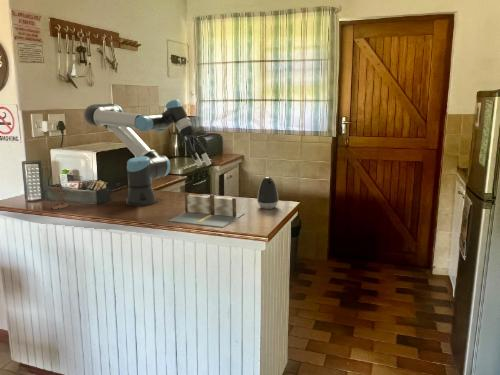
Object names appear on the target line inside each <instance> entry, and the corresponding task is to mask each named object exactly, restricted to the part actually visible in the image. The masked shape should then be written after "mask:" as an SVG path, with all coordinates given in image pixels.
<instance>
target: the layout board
mask: <svg viewBox="0 0 500 375" xmlns="http://www.w3.org/2000/svg"><path fill="white" fill-rule="evenodd" d="M242 216H245V213H243V212H236V216H227V215H217V214H215V215H211V214H209V215H204V214H194V213H187V212H183V213H181V214H179V215H177V216H174V217H172V218H171V219H168V220H167V222H170V223H179V224H189V225H196V226H204V227H214V228H222V229H223V228H225V227H226V226H228V225H230V224H231V223H233V222H235V221H236V220H237V219H240V218H241V217H242Z"/></svg>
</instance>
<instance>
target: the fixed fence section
mask: <svg viewBox="0 0 500 375" xmlns="http://www.w3.org/2000/svg"><path fill="white" fill-rule="evenodd" d="M214 198H215V194H214V193H213V194H209V196H203V195H193V194H192V195H191V194H190V193H189V192H184V207H185V208H184V209H185V212H187V213H194V214H204V215H209V214H211V215H215V207H214ZM185 212H184V213H185Z"/></svg>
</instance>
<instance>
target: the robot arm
mask: <svg viewBox="0 0 500 375" xmlns="http://www.w3.org/2000/svg"><path fill="white" fill-rule="evenodd" d="M165 108H166V110H165V111H164V112H162V113H160V114H140V113H130V112H125V111H124V110H123V108H122V107H121V106H119V105H118V104H115V103H102V104H101V103H98V104H96V103H95V104H90V105H88V106H87V107H86V109H85V110H84V112H83V118H84V120H85V122H86V123H87V124H89V125H90V126H94V127H103V126H104V128H105V129H106V130H107V131H108V132H111V133H114V134H115V136H116V137H117V138H118V139H119V140H120V142H121V143H123V144H124V146H126V148H127V149H128V150H129V151H130V153H132V154H133V155H134V157H133V158H129V159H128V160H127V161H126V171H127V172H126V173H127V174H126V175H127V182H128V183H127V184H128V190H127V196H126V198H125V200H126V201H125V202H126V205H128V206H131V207H132V206H133V207H139V206H140V207H143V206H149V205H153V204H155V203H157V197H156V195H155V193H154V192H155V191H154V189H153V184H152V183H153V182H152V180H153V181H154V180H157V179H159V178H160V179H162V178H163V177H166V176H167V175H168V174H169V173H170V171H171V162H170V160H169V158H168V157H167V156H166V155H160V154H159V152H157V151H156V150H155V149H151V148H150V147H149V146H148V145H147V144H146V143H145V141H143V139H142V138H141V137H139V135H138V134H137V133H136V132H135V131H134V130H133V129H135V130H139V131H140V132H148V131H155V132H158V133H162V132H164V131H166V130H168V128H170V127H171V126H172V125H173V124H175V127H176V129H177V131H178V132H179V135H180V136H181V138H182V139H183V141H184V142H185V143H184V144H185V146H186V150H187V153H188V155H189V156H190V157H192V159H193V162H195V165H196V166H197V168H199V167H201V166H203V162H202V160H201V158H202V159H203V161H204V164H205V165H206V167H208V166H210V165H212V162H211V160H210V158H209V155H208V154H207V153H208V150H207V149H206V148H205V146H204V145H203V144H202V142H201V141H200V139H199V138H198V136H197V135H196V136H195V135H194V134H195V133H196V129H195V127H194V126H193V125H192V122H191V118H189V116H188V115H187V113H186V111H185V109H184V106H183V105H182V103H181V101H180V99H177V98H176V99H172V100H170V101H168V102H167V103H166V104H165ZM196 149H197V151H198V152H199V154H201V158H200V156H199V154H198V153H197V151H196Z"/></svg>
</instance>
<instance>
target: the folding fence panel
mask: <svg viewBox="0 0 500 375" xmlns="http://www.w3.org/2000/svg"><path fill="white" fill-rule="evenodd" d="M214 207H215V214H217V215H227V216H236V213H237V198H236V197H232V198H228V197H226V198H225V197H218V196H217V197H215V196H214Z"/></svg>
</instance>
